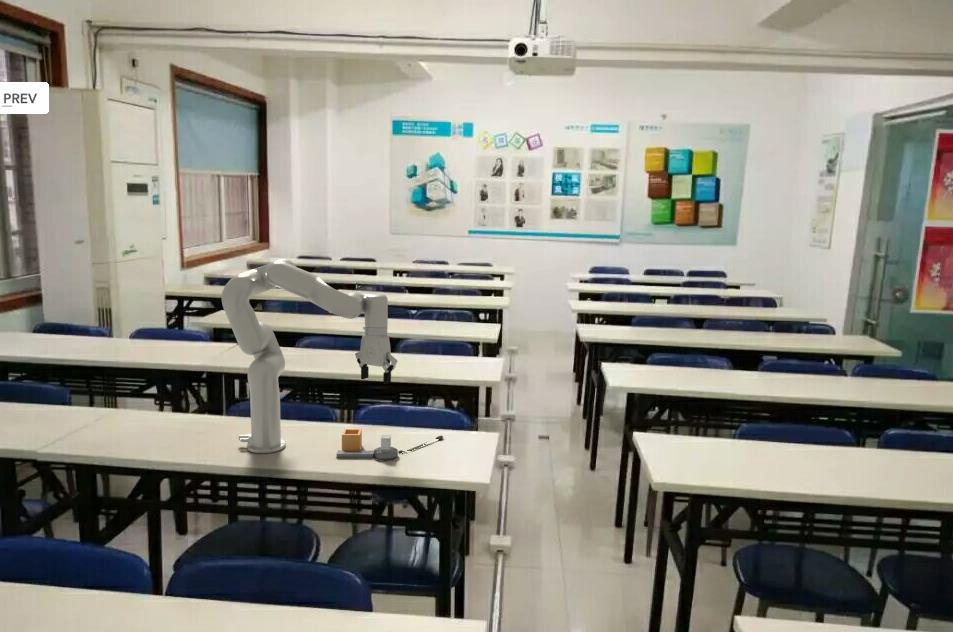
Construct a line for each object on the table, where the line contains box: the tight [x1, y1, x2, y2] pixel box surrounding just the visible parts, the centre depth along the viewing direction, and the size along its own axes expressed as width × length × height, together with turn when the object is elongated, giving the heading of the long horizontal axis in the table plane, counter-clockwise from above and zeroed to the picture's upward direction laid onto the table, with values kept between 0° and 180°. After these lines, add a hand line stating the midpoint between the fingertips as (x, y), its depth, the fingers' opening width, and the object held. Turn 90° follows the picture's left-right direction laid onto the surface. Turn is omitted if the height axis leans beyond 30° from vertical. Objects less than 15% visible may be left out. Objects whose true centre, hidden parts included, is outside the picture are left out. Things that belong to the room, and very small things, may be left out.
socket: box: [341, 428, 363, 451], centre depth 228 cm, size 6×6×6 cm
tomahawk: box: [398, 435, 444, 455], centre depth 232 cm, size 21×7×1 cm, turn 140°
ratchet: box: [336, 434, 399, 462], centre depth 221 cm, size 20×8×7 cm, turn 94°
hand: (375, 380), depth 225 cm, fingers open, 9 cm apart
